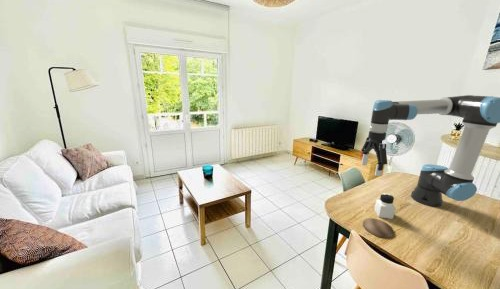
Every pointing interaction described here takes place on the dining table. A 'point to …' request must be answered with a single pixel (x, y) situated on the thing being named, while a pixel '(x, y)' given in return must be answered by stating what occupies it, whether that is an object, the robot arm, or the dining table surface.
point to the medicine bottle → (385, 206)
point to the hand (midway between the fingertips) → (370, 170)
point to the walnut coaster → (378, 228)
